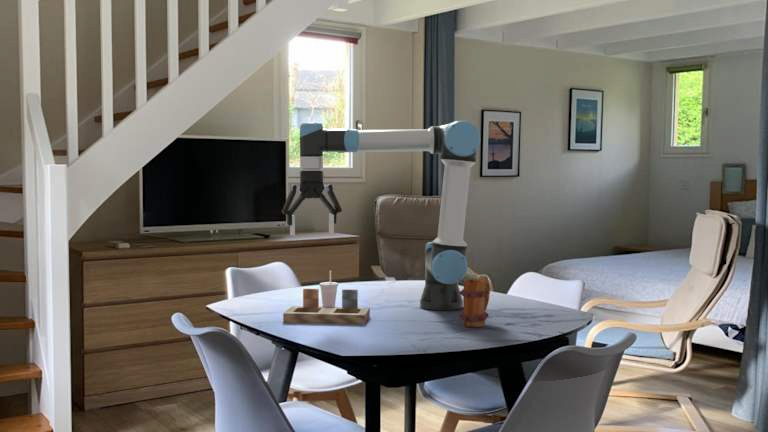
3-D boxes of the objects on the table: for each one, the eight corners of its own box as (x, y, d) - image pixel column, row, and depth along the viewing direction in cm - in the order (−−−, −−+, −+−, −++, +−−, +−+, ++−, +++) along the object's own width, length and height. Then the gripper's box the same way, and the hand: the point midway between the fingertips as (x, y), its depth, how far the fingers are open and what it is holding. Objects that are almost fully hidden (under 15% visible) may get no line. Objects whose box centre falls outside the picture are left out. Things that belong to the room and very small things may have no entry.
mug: (479, 330, 241) (479, 281, 240) (454, 327, 245) (455, 279, 244) (498, 322, 253) (499, 275, 253) (475, 319, 258) (475, 273, 257)
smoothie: (335, 313, 267) (335, 272, 267) (317, 312, 269) (317, 271, 268) (340, 310, 274) (340, 269, 273) (322, 309, 275) (322, 269, 274)
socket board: (369, 316, 262) (369, 289, 261) (364, 324, 249) (364, 296, 248) (292, 314, 264) (292, 288, 264) (283, 322, 252) (283, 294, 251)
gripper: (342, 169, 270) (343, 232, 271) (271, 170, 259) (272, 235, 261) (351, 169, 263) (351, 233, 264) (278, 170, 252) (279, 236, 254)
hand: (312, 234), depth 262 cm, fingers open, 13 cm apart
